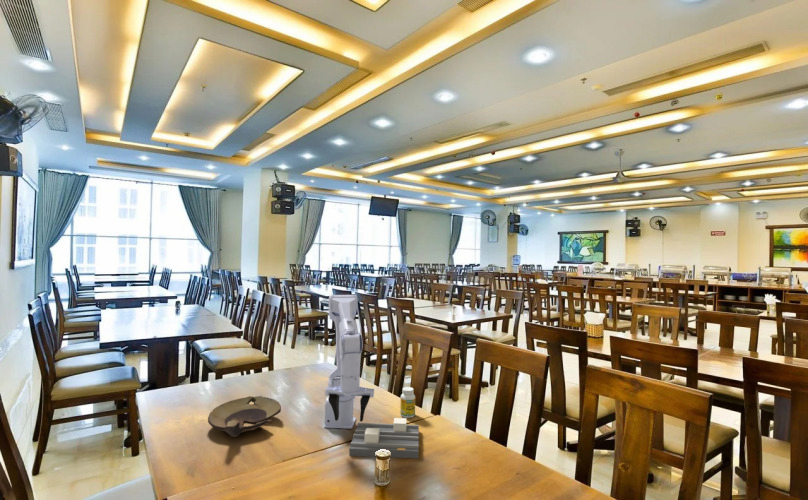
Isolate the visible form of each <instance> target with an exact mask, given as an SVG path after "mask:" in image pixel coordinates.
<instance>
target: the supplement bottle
mask: <svg viewBox="0 0 808 500" xmlns="http://www.w3.org/2000/svg"><path fill="white" fill-rule="evenodd" d="M414 390H415V389H414V388H413V387H410V386H404V387H402V391H401V392H402V394H400V409H399V410H400V416H401V418H407V419H410V418H414V417H415V416H416V395H415V393H414Z"/></svg>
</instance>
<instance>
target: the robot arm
mask: <svg viewBox="0 0 808 500" xmlns="http://www.w3.org/2000/svg"><path fill="white" fill-rule="evenodd" d="M357 310H358V296H357V294H330V295H329V296H328V316H329V320H330V321H333V322H334V326H335V343H336V344H335V347H336V349H335V351H336V368H334V370H332V371H331V372H330V373H329V374H328V381H327V382H328V386H327V387H326V388H325V390H324V391H325V392H324V395H325V396H326V399H325V405H324V424H323V427H324V428H325V429H326V428H327V429H350V430H351V429H353V427H354V425H355V422H356V419H357V418H356V417H354V405H355V404H354V403H355V402H354V401H355V397H360V401H359V403H360V405H359V406H360V414H359V422H360V423H363V421H364V416H365V411H366V408H367V406H368V404H369V401H370V398H374V397H375V388H368V387H363V386H360V384H361V381H360V379H361V378H360V377H361V375H360V374H361V354H362V352H363V347H364V346H363V343H364V342H363V336H362V333H361V332H359V329H358V325H357V324H358V323H357V322H356V320H355V317H356V313H357Z"/></svg>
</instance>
